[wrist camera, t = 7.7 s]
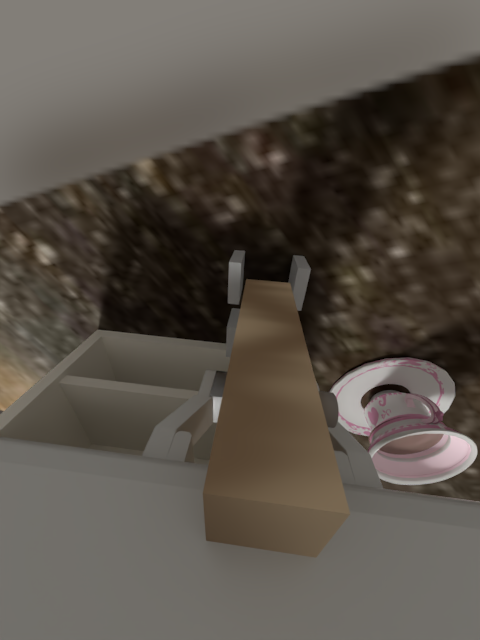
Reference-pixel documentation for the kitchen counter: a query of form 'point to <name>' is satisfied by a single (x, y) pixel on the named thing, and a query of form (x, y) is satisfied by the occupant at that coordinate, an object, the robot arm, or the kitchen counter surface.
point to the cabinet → (129, 383)
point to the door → (273, 437)
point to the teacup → (405, 420)
